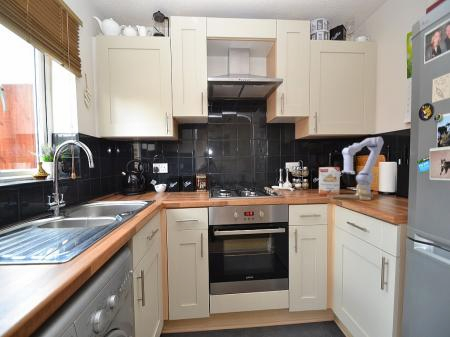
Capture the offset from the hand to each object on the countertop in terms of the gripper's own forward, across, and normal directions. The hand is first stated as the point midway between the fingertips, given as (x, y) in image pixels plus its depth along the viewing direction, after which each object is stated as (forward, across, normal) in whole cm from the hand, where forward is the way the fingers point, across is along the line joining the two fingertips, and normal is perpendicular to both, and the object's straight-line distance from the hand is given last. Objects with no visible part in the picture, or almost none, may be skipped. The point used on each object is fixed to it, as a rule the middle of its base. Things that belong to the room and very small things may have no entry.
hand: (348, 183), depth 154 cm
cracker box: (+10, -14, -8) cm, 19 cm away
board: (+9, +5, -2) cm, 11 cm away
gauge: (+9, +8, +5) cm, 13 cm away
